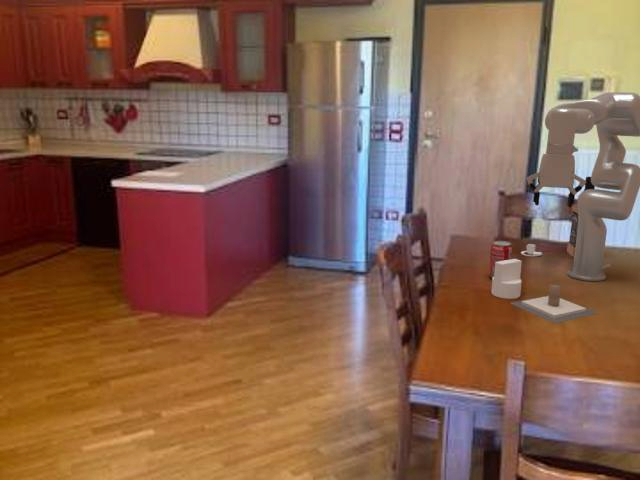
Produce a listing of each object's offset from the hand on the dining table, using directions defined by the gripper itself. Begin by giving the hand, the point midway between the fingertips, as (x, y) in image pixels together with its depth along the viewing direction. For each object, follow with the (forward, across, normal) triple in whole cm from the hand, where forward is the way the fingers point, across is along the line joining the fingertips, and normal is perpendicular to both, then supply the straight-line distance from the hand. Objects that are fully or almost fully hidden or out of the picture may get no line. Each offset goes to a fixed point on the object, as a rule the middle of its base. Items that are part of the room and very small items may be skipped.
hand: (552, 205), depth 185 cm
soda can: (+30, +12, -20) cm, 38 cm away
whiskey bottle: (+28, -24, -59) cm, 70 cm away
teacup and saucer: (+29, -3, -54) cm, 61 cm away
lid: (+30, -2, +10) cm, 32 cm away
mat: (+31, -2, +10) cm, 32 cm away
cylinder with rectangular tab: (+31, +11, 0) cm, 33 cm away
